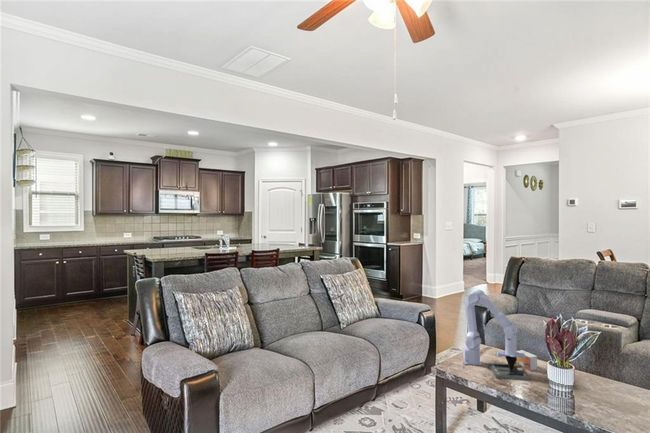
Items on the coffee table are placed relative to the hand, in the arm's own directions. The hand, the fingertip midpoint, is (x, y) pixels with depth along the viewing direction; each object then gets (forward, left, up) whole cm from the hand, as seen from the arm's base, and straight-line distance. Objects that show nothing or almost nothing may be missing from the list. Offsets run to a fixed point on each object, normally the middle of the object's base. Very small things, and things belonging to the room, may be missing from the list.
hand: (510, 369), depth 212 cm
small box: (+9, +15, +2) cm, 18 cm away
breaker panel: (-1, 0, -2) cm, 2 cm away
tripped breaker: (+3, 0, -1) cm, 3 cm away
